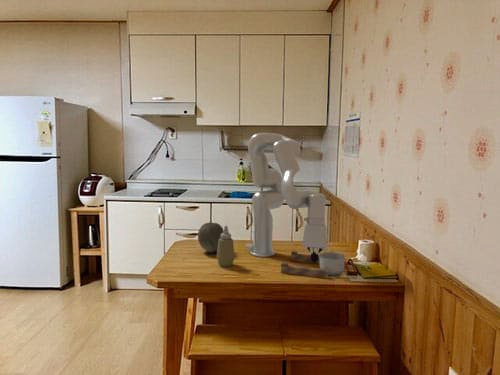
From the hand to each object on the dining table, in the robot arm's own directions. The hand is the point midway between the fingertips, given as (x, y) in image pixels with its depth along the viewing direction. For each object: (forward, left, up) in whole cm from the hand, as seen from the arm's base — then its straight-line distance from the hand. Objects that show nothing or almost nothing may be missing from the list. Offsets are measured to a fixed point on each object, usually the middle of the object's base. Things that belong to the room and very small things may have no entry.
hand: (314, 261), depth 172 cm
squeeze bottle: (-38, -10, -3) cm, 40 cm away
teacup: (+8, -1, -3) cm, 9 cm away
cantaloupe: (-53, +7, -3) cm, 54 cm away
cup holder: (-2, 0, -3) cm, 4 cm away
